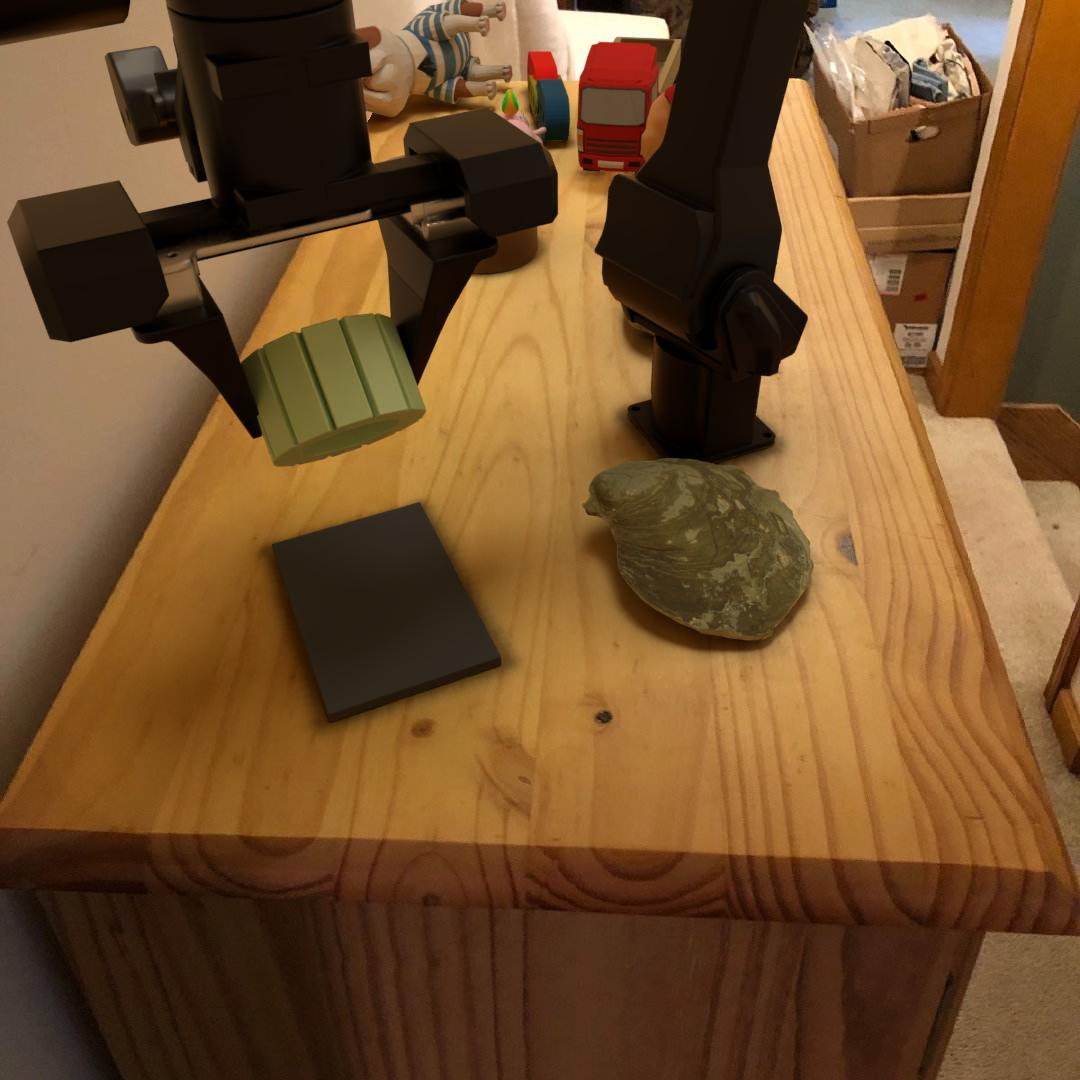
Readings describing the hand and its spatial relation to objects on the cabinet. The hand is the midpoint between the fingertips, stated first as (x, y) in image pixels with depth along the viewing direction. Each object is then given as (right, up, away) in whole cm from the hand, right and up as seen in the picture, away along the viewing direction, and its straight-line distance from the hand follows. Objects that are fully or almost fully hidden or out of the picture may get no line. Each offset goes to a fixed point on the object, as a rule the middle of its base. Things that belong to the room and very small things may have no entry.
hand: (333, 409), depth 42 cm
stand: (+5, +16, +35) cm, 39 cm away
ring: (+1, -1, -1) cm, 2 cm away
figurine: (+4, +41, +54) cm, 68 cm away
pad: (+1, -9, +7) cm, 11 cm away
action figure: (+21, +18, +36) cm, 46 cm away
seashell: (+16, -7, +8) cm, 20 cm away
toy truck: (+17, +30, +49) cm, 59 cm away
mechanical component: (+8, +37, +54) cm, 65 cm away
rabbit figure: (+6, +27, +47) cm, 54 cm away
